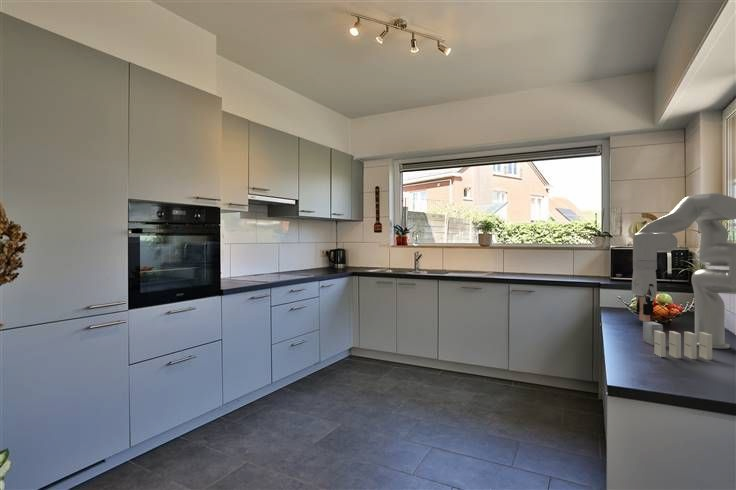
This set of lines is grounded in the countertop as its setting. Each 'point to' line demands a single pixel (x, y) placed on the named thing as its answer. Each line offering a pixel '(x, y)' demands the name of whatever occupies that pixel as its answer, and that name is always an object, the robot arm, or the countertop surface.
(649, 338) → the medicine box
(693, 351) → the domino
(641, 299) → the domino
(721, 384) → the countertop surface
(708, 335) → the domino
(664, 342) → the domino
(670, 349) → the domino
